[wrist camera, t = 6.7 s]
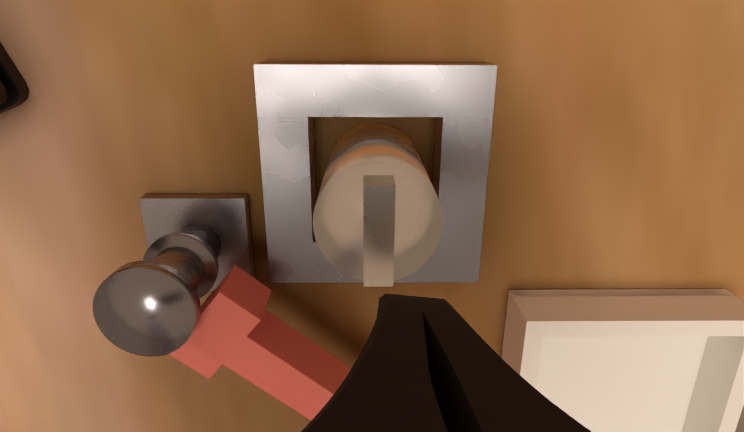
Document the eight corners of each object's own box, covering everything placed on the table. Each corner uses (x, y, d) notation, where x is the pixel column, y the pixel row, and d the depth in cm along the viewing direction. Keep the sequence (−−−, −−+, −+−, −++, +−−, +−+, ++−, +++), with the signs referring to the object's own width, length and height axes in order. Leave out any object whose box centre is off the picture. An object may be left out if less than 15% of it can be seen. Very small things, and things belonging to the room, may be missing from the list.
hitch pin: (418, 212, 20) (444, 299, 13) (329, 212, 20) (311, 299, 13) (421, 123, 19) (453, 170, 12) (326, 122, 19) (305, 170, 12)
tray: (678, 457, 25) (711, 502, 22) (489, 458, 24) (503, 503, 22) (726, 289, 21) (770, 320, 19) (509, 289, 21) (526, 321, 19)
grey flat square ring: (469, 262, 21) (478, 282, 19) (277, 262, 21) (269, 282, 19) (484, 62, 18) (497, 65, 16) (263, 61, 18) (253, 64, 16)
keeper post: (255, 284, 21) (217, 369, 16) (160, 284, 21) (89, 370, 16) (247, 193, 20) (203, 253, 14) (145, 193, 19) (62, 253, 14)
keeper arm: (188, 321, 18) (168, 353, 16) (235, 264, 18) (219, 292, 16) (438, 483, 21) (445, 527, 19) (487, 441, 20) (500, 482, 19)
